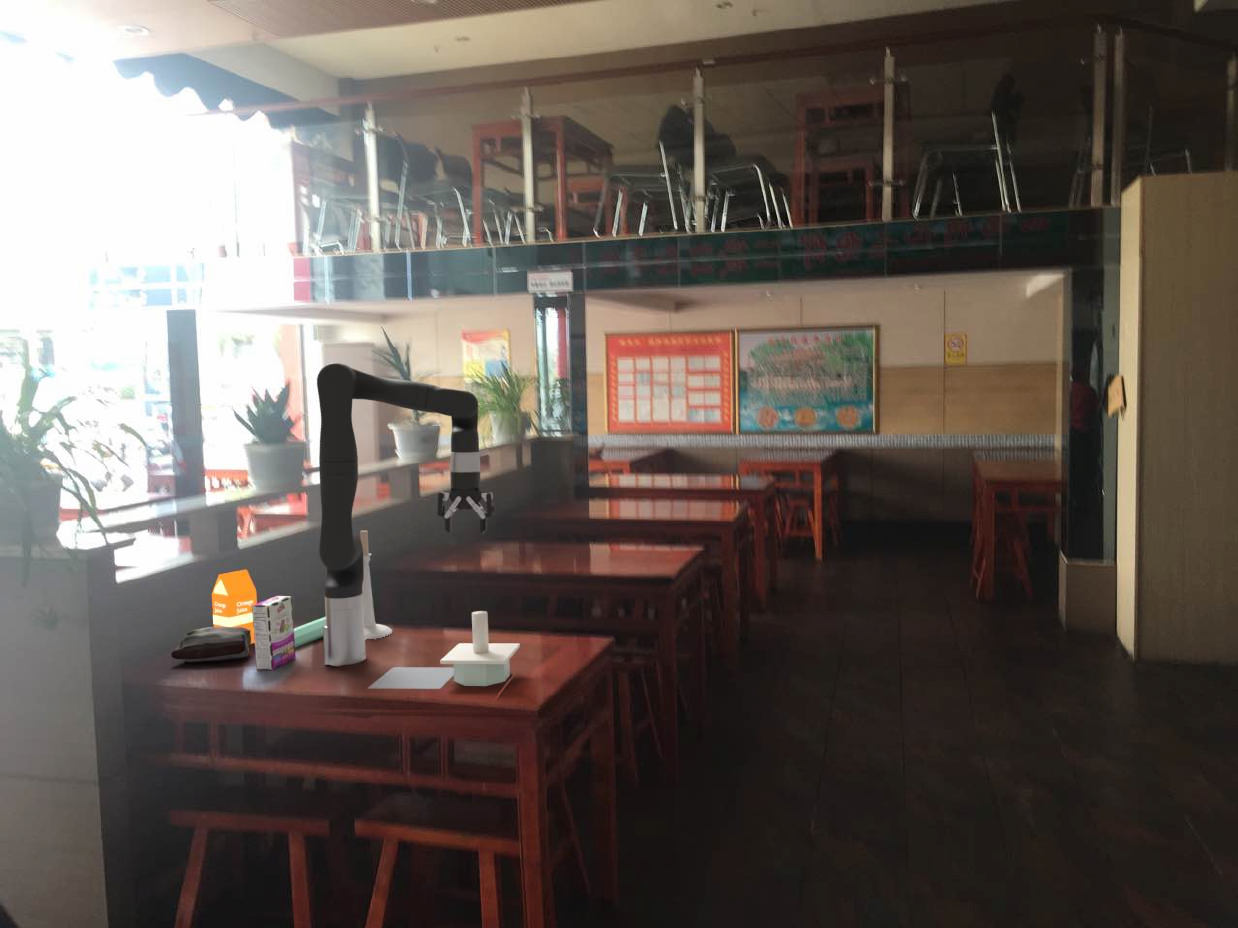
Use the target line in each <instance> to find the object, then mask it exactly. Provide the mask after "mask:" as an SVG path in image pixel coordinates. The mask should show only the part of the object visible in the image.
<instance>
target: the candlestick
mask: <svg viewBox="0 0 1238 928" xmlns="http://www.w3.org/2000/svg"><path fill="white" fill-rule="evenodd" d="M359 534H360V540H361V543H362V546H363V564H364V580H363V586H362V594H363V613H364V633H365V641H368V640H367V639H374V640H377V639H376V638H380V639H383V638H382V637H384V638H386V637H385V636H387V637H389V636H391V635H392V634H393V629H391V627H389V626H387V625H385V624H380V623H376V620H375V611H374V599H373V591H372V580H371V572H370V571H371V570H370V565H369V564H370V561H371V558H370V557H371V556H372V553H369V551H370V550H369V533H368V530H360V532H359ZM390 634H391V635H390ZM388 635H389V636H388Z"/></svg>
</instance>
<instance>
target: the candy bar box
mask: <svg viewBox="0 0 1238 928" xmlns="http://www.w3.org/2000/svg"><path fill="white" fill-rule="evenodd" d="M292 601H293V600H292V596H290V595H276V596H273V597H270V598H267V599H265V600H263V601H261V602H257V604H255V605H253V606H252V616H253V629H254V643H253V644H254V654H255V655H254V656H255V669H256V670H259V671H270V670H271V671H274V670H275V669H278V668H279V667H282V666H283V665H285V664H287V663H289V662H291V661H292V660H295V659H296V658H297V656H296V647H295V641H294V616H293V615H294V614H293V602H292Z"/></svg>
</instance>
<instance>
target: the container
mask: <svg viewBox="0 0 1238 928" xmlns="http://www.w3.org/2000/svg"><path fill="white" fill-rule="evenodd" d="M325 626H326V616H324V617H321V618H318V619H315V620H313V621H310V622H307V623H305V624H302V625H300V626H297V627H295V628H294V641H295V648H298V647H300V646H303V645H305V644H308V643H310V642H313V641H316V640H319V639H321V638H324V636H323V628H324V627H325Z"/></svg>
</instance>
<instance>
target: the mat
mask: <svg viewBox="0 0 1238 928" xmlns="http://www.w3.org/2000/svg"><path fill="white" fill-rule="evenodd" d="M452 677H454V668H453V666H452V667H451V666H450V667H442V666H441V667H437V666H436V667H433V666H432V667H428V666H427V667H425V666H423V667H418V666H417V667H416V666H415V667H413V666H411V667H408V666H407V667H405V666H400V667H399V666H396V667H395V666H393V667H392V668H391V669H389V670H388V671H387V672H386V673H384V674H383V675H382V676H380V678H378V679H377V680H376V681H374V682H373V683H372V684H371V685H370V686H368V687H367V689H369V690H370V689H371V690H372V689H373V690H374V689H381V690H382V689H387V690H390V689H393V690H394V689H396V690H397V689H398V690H406V689H407V690H441V688H443V687H444V686H445V685H446V684H447V683H448V682H449V681H450V680H451V678H452Z"/></svg>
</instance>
